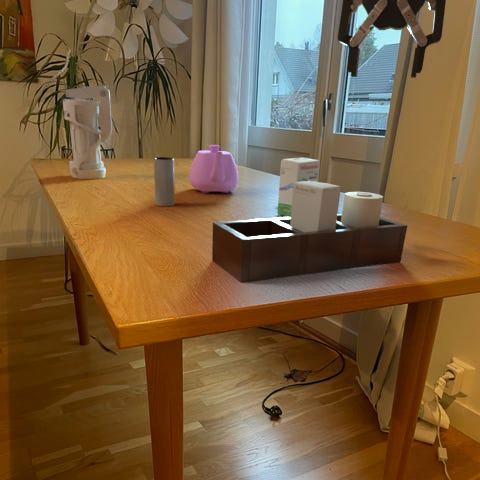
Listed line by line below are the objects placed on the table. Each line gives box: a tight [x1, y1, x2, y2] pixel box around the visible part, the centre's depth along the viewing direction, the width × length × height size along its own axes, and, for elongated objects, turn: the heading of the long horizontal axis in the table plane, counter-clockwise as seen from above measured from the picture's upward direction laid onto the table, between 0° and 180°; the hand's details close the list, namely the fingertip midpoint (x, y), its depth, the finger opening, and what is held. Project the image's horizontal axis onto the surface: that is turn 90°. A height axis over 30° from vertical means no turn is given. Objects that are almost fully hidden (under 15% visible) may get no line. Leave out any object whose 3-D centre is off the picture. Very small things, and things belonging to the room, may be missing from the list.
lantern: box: [62, 85, 113, 180], centre depth 139 cm, size 13×10×25 cm
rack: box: [211, 213, 408, 283], centre depth 74 cm, size 29×10×6 cm, turn 116°
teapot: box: [188, 144, 239, 194], centre depth 127 cm, size 20×13×12 cm, turn 11°
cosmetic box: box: [290, 181, 342, 232], centre depth 73 cm, size 6×4×12 cm
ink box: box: [276, 157, 321, 217], centre depth 105 cm, size 8×5×12 cm, turn 139°
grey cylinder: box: [153, 156, 176, 207], centre depth 109 cm, size 4×4×10 cm
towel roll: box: [341, 191, 384, 228], centre depth 77 cm, size 6×6×10 cm
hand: (383, 77), depth 70 cm, fingers open, 8 cm apart
